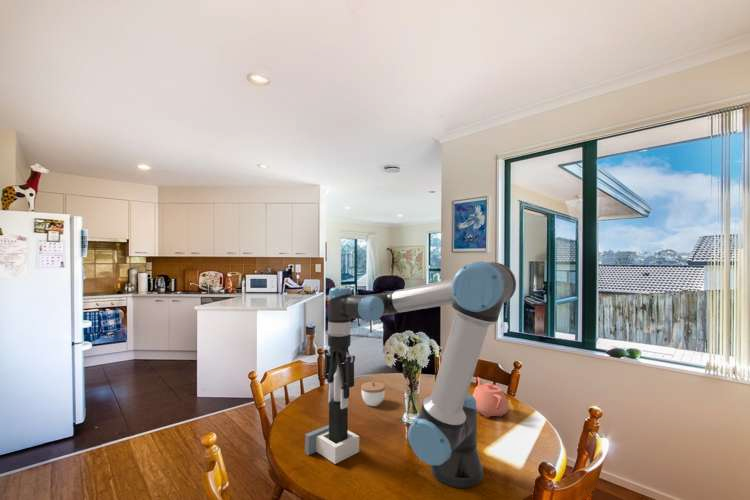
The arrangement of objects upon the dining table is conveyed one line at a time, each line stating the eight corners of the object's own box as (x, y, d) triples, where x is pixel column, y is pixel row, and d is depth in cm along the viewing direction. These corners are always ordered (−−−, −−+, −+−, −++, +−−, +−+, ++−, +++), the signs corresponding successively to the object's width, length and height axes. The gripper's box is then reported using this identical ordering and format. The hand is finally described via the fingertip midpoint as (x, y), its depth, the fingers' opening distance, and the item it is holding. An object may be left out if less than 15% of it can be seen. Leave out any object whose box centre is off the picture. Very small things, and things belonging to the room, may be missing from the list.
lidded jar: (389, 402, 154) (389, 380, 154) (376, 410, 145) (377, 388, 145) (369, 396, 160) (369, 376, 160) (356, 404, 150) (356, 383, 151)
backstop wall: (346, 437, 122) (346, 420, 122) (308, 455, 111) (308, 436, 111) (342, 435, 123) (343, 418, 123) (304, 452, 112) (305, 434, 112)
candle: (339, 447, 109) (339, 367, 110) (327, 442, 112) (327, 364, 113) (349, 440, 113) (349, 363, 115) (337, 436, 116) (337, 361, 117)
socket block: (359, 451, 113) (359, 436, 113) (335, 464, 106) (335, 447, 106) (339, 440, 120) (340, 425, 120) (316, 451, 113) (316, 435, 113)
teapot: (490, 401, 155) (490, 374, 156) (517, 422, 136) (516, 391, 136) (463, 403, 153) (463, 376, 153) (486, 424, 133) (486, 393, 134)
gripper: (366, 336, 110) (365, 410, 109) (331, 328, 123) (330, 393, 122) (348, 340, 105) (347, 417, 104) (313, 331, 118) (312, 399, 117)
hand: (338, 404), depth 113 cm, fingers closed on candle, 6 cm apart
